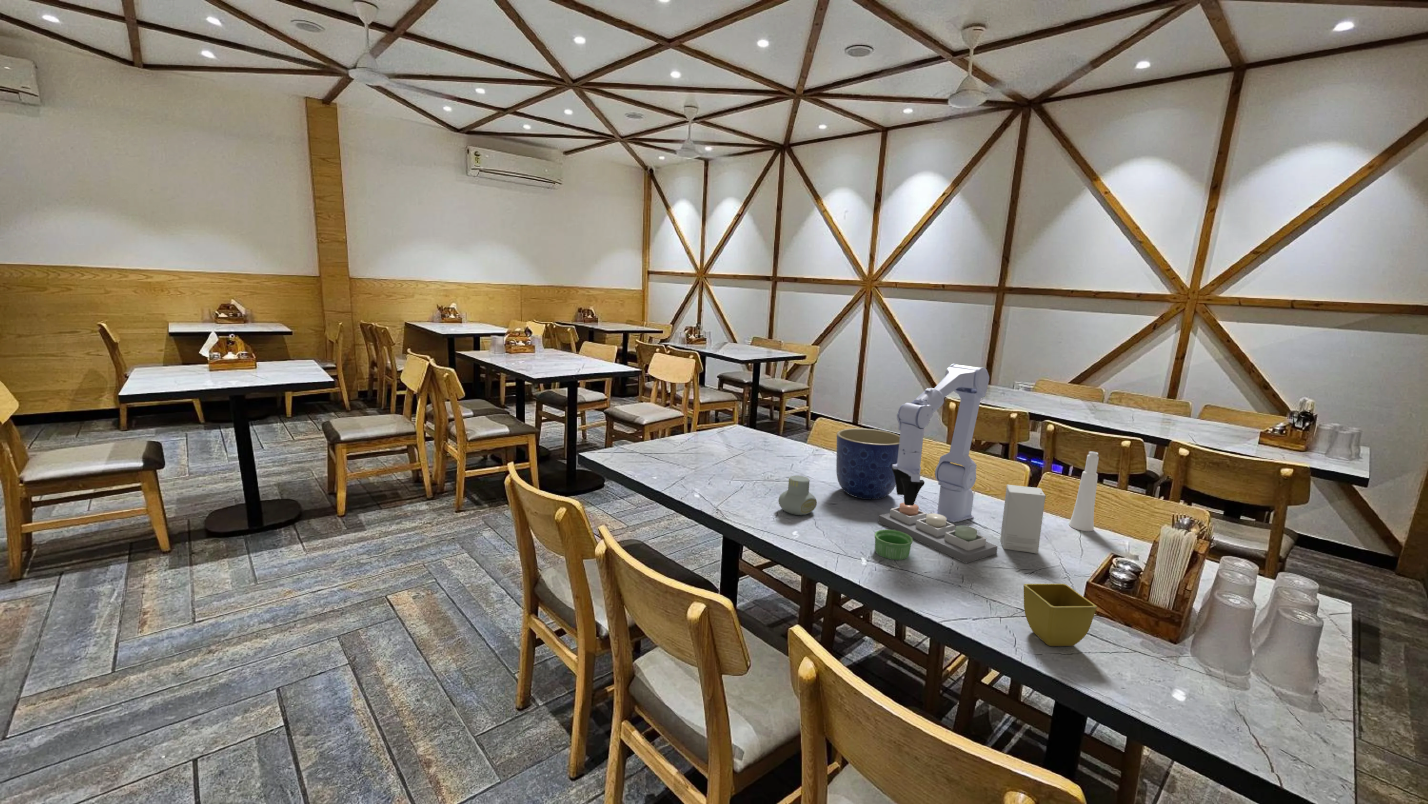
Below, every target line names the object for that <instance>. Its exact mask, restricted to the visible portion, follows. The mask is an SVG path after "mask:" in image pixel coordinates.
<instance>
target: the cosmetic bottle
mask: <svg viewBox="0 0 1428 804" xmlns="http://www.w3.org/2000/svg"><path fill="white" fill-rule="evenodd" d="M1099 459H1100V457H1099V452H1096V451H1088V454H1087V455H1086V461H1085V467H1084V470H1083V471H1082V473H1081V477H1080V482H1079V486H1078V491H1077V496H1076V501H1075V504H1074V507H1073V512H1072V515H1071V518H1070V520H1069V523H1068V525H1069V527H1070V528H1072V529H1075V530H1078V531H1082V532H1092V531H1094V530H1095V524H1094V523H1095V522H1094V520H1095V519H1094V518H1095V516H1094V515H1095V506H1096V505H1095V503H1096V495H1097V487H1098V476H1099V474H1098V472H1097V471H1098V466H1099Z"/></svg>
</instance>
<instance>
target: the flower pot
mask: <svg viewBox="0 0 1428 804" xmlns="http://www.w3.org/2000/svg"><path fill="white" fill-rule="evenodd" d="M1097 607H1098V606H1097V605H1096V604H1095V603H1093V602H1092V601H1090V600H1089V599H1088V598H1086V597H1084V596H1082V595H1081V594H1080V593H1079V592H1077V591H1076V590H1075V589H1073V588H1072V587H1071V586H1069V585H1068V584H1066V583H1024V584H1023V609H1024V611H1023V612H1024V615H1025V618H1026V621H1027V623H1028V625H1029V628H1030V630H1031V631H1032V633H1033V634H1035V635H1036V636H1037V637H1038V638H1039V639H1040V640H1041V641H1042V642H1044V643H1045V644H1046V645H1047V646H1049V647H1064V646H1066V647H1068V646H1069V647H1073V646H1075V645H1076V644H1078V643H1080V642H1081V641H1082V640H1083V639H1084V638H1085V637H1086V636H1087V634H1088V632H1089V631H1090V628H1091V626H1092V622H1093V619H1094V618H1095V613H1096V611H1097Z"/></svg>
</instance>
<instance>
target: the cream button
mask: <svg viewBox="0 0 1428 804" xmlns="http://www.w3.org/2000/svg"><path fill="white" fill-rule="evenodd" d="M946 519H947V518H946V517H945V516H943V515H940V514H935V513H931V512H930V513H927V515H926V522H925V523H926V524H928V525H931V526H933V527H935V528H941V527H945V526H946V522H947V520H946Z"/></svg>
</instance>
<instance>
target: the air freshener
mask: <svg viewBox="0 0 1428 804" xmlns="http://www.w3.org/2000/svg"><path fill="white" fill-rule="evenodd" d="M787 483H788V485H787V486H788V487H787V490H785V491H783V492H782V493H781V494H780V495H779V497H778V500H777V501H778V502H777V503H778V505H779V507H780V508H781V509H782V510H783V511H784V512H787V513H788V514H790V515H795V516H806V515H808V514H810V513H812V512H814V511H815V509H816V507H817V504H818V502H817V499H816V497H815V496H814V495H813V493H811V492H810V479H809V478H808V477H807V476H803V475H791V476H790V477H788V482H787Z"/></svg>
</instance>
